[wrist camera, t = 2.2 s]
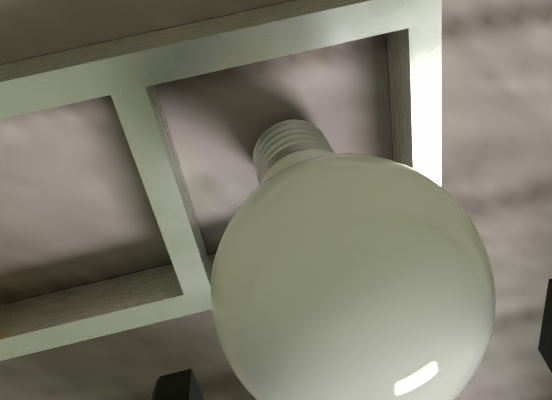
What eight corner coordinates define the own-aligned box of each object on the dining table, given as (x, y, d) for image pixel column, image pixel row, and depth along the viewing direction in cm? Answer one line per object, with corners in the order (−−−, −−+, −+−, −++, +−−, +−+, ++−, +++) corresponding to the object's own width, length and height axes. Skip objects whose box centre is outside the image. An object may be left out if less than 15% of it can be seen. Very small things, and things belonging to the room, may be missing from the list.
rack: (420, 224, 21) (443, 256, 20) (-249, 386, 20) (-292, 436, 18) (414, -26, 16) (444, -14, 14) (-492, 173, 15) (-586, 213, 13)
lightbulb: (174, 193, 19) (170, 491, 10) (239, 29, 16) (321, 220, 7) (324, 237, 21) (440, 515, 12) (404, 98, 18) (633, 314, 9)
